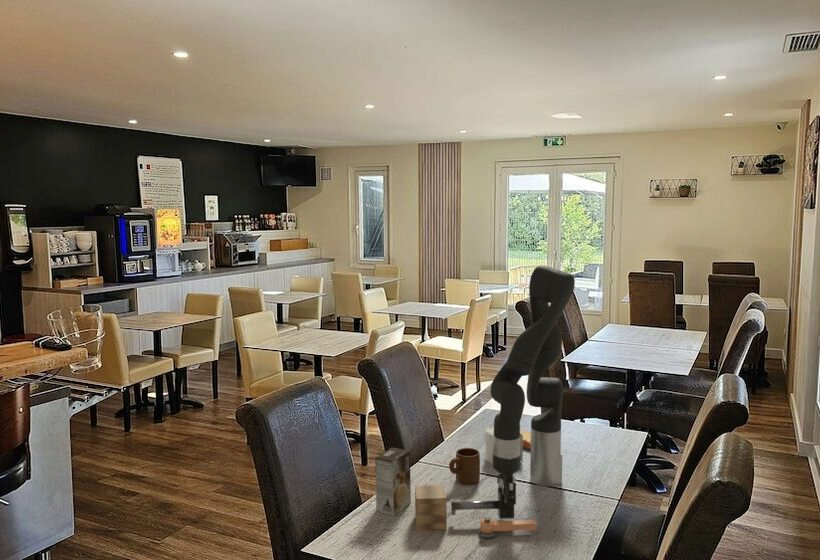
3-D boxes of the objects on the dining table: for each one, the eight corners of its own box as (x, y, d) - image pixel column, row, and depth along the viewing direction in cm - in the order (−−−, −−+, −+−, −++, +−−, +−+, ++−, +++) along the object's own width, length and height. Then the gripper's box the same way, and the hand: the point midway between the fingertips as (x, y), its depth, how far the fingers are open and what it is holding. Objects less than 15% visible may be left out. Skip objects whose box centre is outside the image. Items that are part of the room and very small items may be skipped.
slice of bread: (498, 432, 243) (498, 423, 243) (546, 435, 240) (546, 426, 239) (495, 449, 226) (495, 439, 225) (547, 453, 222) (547, 443, 222)
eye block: (443, 515, 177) (443, 485, 176) (446, 530, 169) (446, 498, 168) (415, 516, 177) (415, 485, 176) (416, 530, 169) (416, 498, 168)
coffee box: (393, 498, 188) (392, 446, 186) (411, 503, 185) (411, 450, 183) (375, 510, 180) (374, 456, 178) (394, 516, 177) (393, 461, 175)
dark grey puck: (494, 530, 169) (494, 526, 169) (497, 538, 164) (497, 535, 164) (477, 530, 168) (477, 527, 168) (480, 539, 164) (480, 535, 164)
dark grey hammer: (511, 513, 175) (512, 487, 174) (514, 518, 172) (514, 492, 171) (450, 514, 174) (450, 488, 173) (452, 520, 171) (452, 493, 171)
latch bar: (536, 531, 165) (537, 520, 165) (481, 533, 164) (481, 522, 164) (533, 524, 169) (533, 514, 168) (479, 526, 168) (479, 516, 168)
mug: (459, 492, 191) (459, 462, 190) (441, 484, 197) (441, 455, 196) (484, 480, 199) (484, 452, 198) (466, 473, 205) (466, 445, 204)
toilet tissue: (484, 453, 222) (484, 425, 221) (518, 453, 222) (518, 425, 221) (486, 465, 211) (487, 436, 210) (522, 465, 211) (523, 436, 210)
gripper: (488, 442, 178) (488, 497, 180) (497, 462, 164) (497, 522, 166) (514, 441, 179) (514, 497, 180) (526, 462, 164) (525, 521, 166)
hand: (506, 509), depth 173 cm, fingers open, 7 cm apart
